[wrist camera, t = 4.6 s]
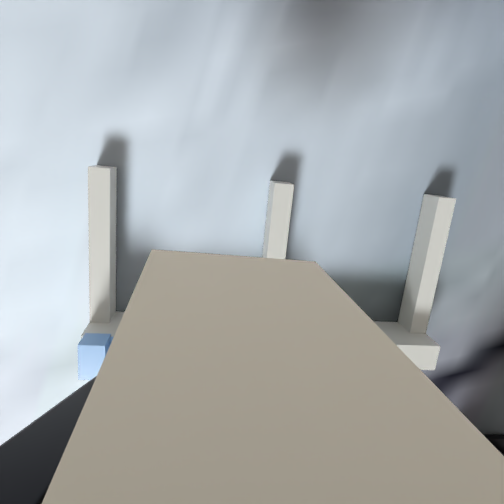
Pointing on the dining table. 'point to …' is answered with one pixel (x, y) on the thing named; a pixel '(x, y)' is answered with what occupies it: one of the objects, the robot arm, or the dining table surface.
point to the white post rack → (274, 246)
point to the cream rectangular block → (264, 400)
